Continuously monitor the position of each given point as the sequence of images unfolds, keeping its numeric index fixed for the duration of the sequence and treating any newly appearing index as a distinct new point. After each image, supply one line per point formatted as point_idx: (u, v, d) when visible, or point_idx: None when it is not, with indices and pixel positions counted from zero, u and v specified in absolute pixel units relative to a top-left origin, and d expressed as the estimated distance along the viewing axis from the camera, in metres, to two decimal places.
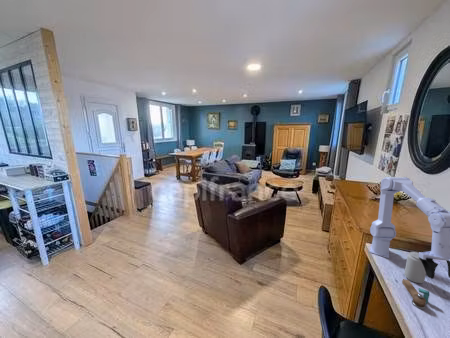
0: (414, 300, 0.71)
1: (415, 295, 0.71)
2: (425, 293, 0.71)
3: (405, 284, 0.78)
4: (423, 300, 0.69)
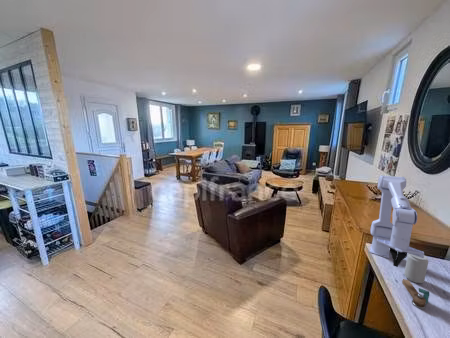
0: (414, 300, 0.71)
1: (415, 295, 0.71)
2: (425, 293, 0.71)
3: (405, 284, 0.78)
4: (423, 300, 0.69)
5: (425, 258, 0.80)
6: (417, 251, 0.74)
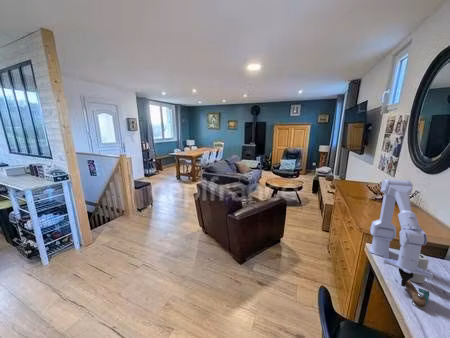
0: (414, 300, 0.71)
1: (415, 295, 0.71)
2: (425, 293, 0.71)
3: (406, 284, 0.78)
4: (423, 300, 0.69)
5: (425, 258, 0.80)
6: (425, 272, 0.73)
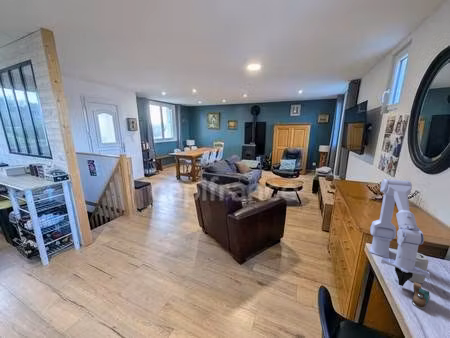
0: (413, 299, 0.71)
1: (416, 295, 0.71)
2: (425, 293, 0.71)
3: (414, 286, 0.77)
4: (422, 300, 0.69)
5: (425, 258, 0.80)
6: (423, 271, 0.74)
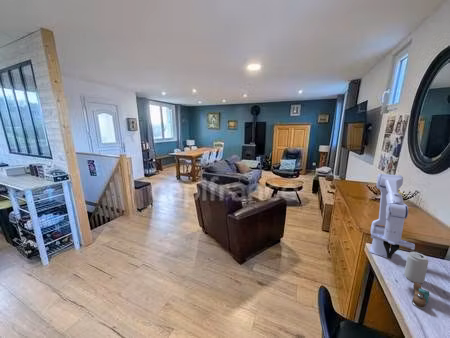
0: (413, 299, 0.71)
1: (416, 295, 0.71)
2: (425, 293, 0.71)
3: (414, 286, 0.77)
4: (422, 300, 0.69)
5: (425, 258, 0.80)
6: (408, 243, 0.79)
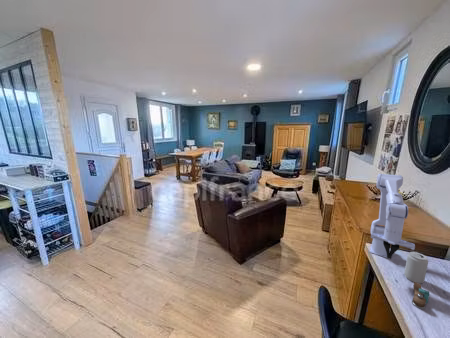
0: (413, 299, 0.71)
1: (416, 295, 0.71)
2: (425, 293, 0.71)
3: (414, 286, 0.77)
4: (422, 300, 0.69)
5: (425, 258, 0.80)
6: (408, 243, 0.79)
